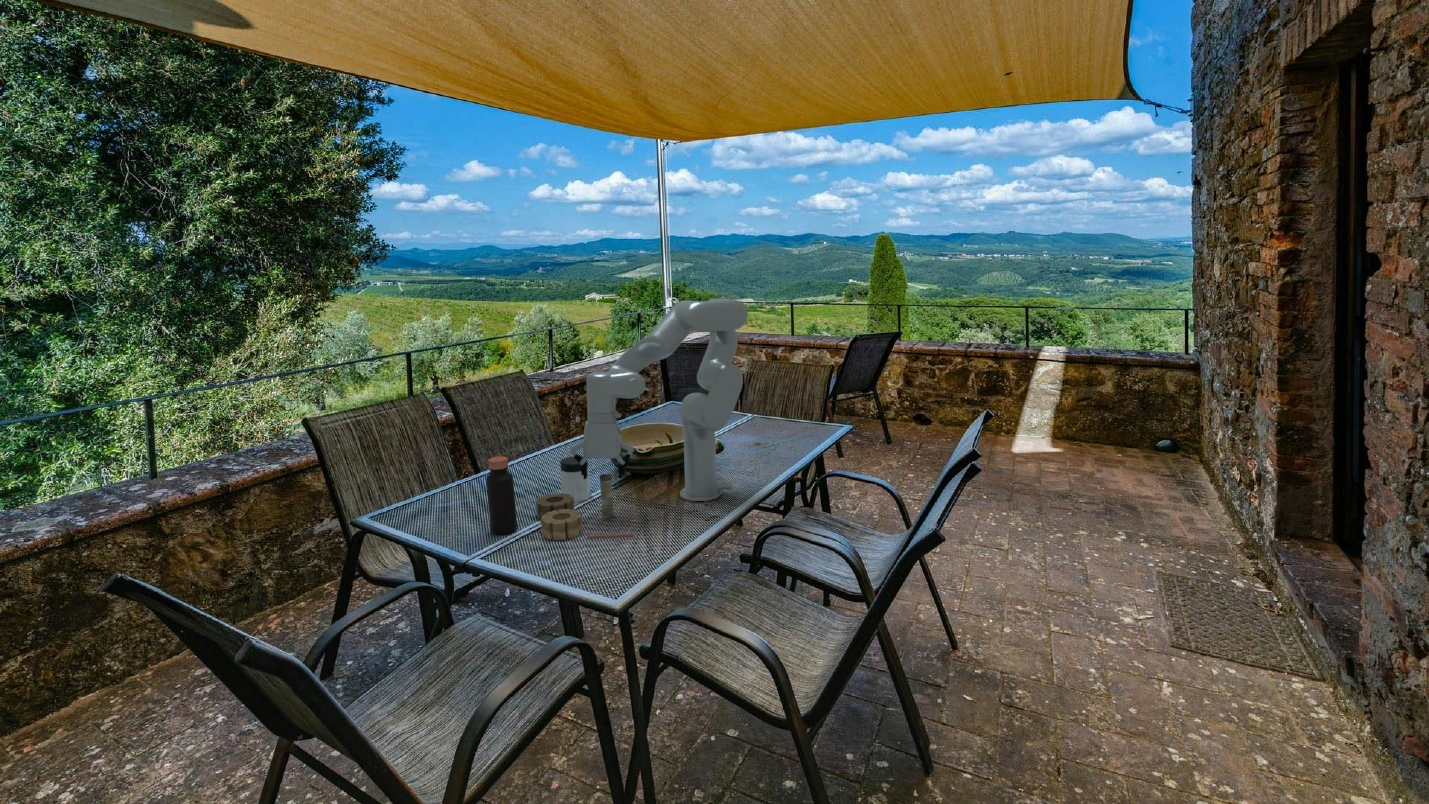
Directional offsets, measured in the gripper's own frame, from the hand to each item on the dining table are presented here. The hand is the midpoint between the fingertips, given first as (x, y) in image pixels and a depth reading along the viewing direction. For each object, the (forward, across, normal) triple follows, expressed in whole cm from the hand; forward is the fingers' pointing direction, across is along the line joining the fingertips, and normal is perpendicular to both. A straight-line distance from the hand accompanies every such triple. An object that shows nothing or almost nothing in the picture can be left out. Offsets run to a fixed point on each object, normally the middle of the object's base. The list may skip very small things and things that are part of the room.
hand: (603, 477), depth 181 cm
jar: (+12, +10, -16) cm, 23 cm away
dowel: (+12, -1, 0) cm, 12 cm away
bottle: (+13, +26, +6) cm, 30 cm away
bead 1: (+12, +14, -4) cm, 19 cm away
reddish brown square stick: (+12, -3, +14) cm, 18 cm away
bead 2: (+12, +10, +10) cm, 18 cm away
